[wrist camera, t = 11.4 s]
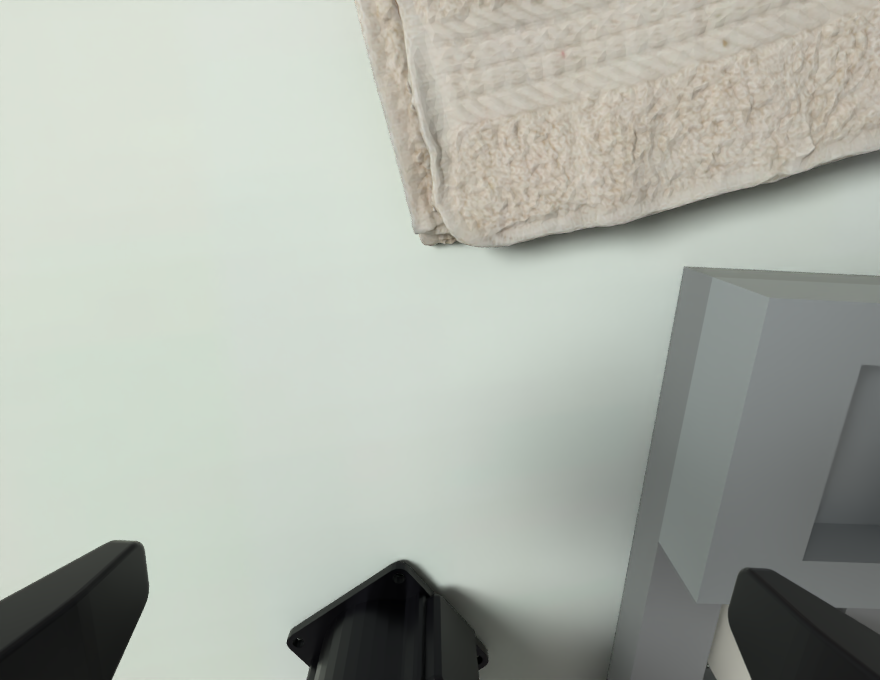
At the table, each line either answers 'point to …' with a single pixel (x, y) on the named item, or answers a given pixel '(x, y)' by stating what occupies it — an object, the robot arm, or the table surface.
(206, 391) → the table surface
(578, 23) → the washcloth
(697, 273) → the socket panel
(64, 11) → the table surface
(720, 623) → the plug
